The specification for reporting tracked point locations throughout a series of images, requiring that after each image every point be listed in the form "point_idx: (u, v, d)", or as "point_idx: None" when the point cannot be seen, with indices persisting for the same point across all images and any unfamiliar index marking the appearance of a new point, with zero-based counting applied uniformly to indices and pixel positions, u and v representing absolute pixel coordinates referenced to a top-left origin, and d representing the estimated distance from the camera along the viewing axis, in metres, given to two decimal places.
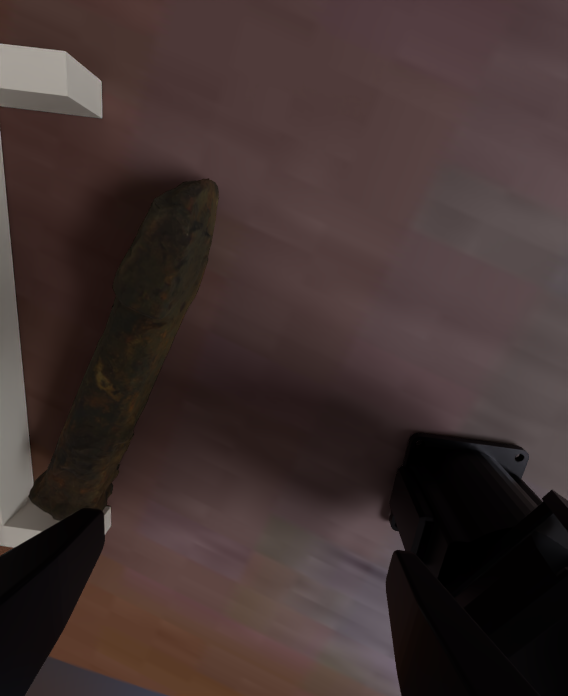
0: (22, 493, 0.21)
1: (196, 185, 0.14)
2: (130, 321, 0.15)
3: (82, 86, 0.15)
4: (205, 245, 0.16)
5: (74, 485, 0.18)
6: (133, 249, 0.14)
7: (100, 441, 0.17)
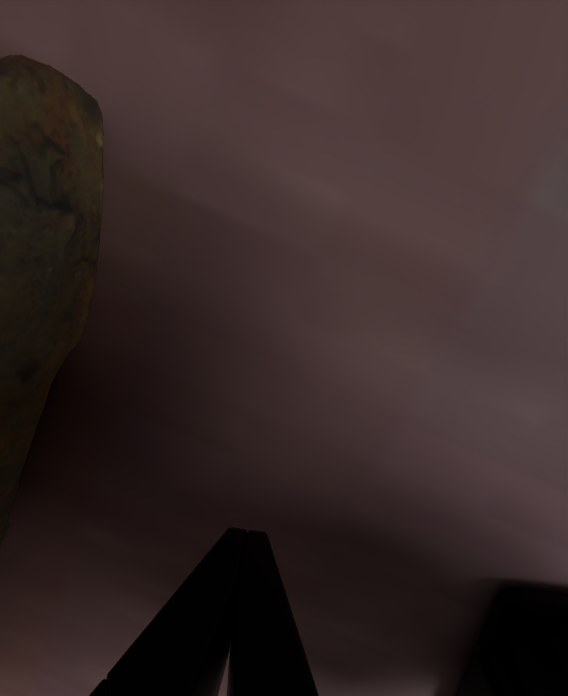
0: None
1: None
2: None
3: None
4: (59, 233, 0.07)
5: None
6: None
7: None
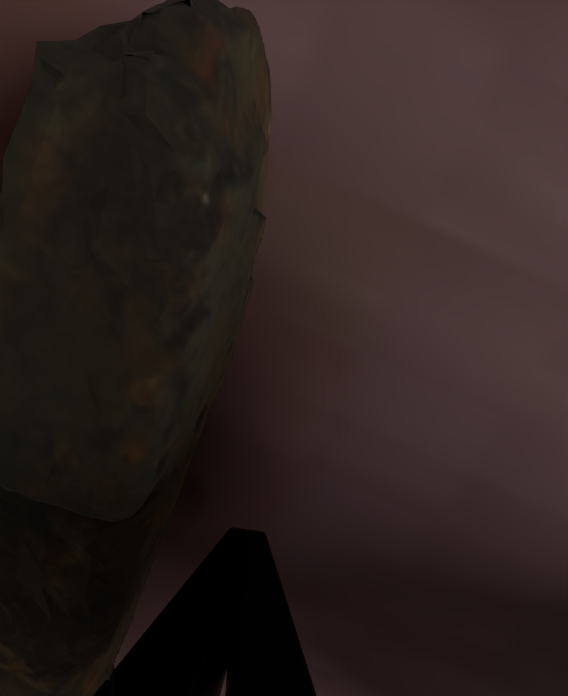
0: None
1: (222, 6, 0.04)
2: (44, 506, 0.05)
3: None
4: (254, 246, 0.05)
5: None
6: None
7: None
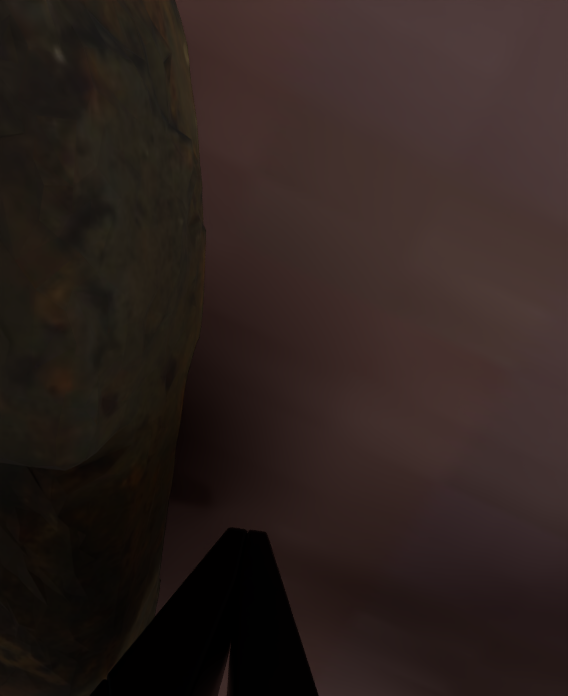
0: None
1: None
2: (7, 478, 0.05)
3: None
4: (182, 169, 0.05)
5: None
6: None
7: None
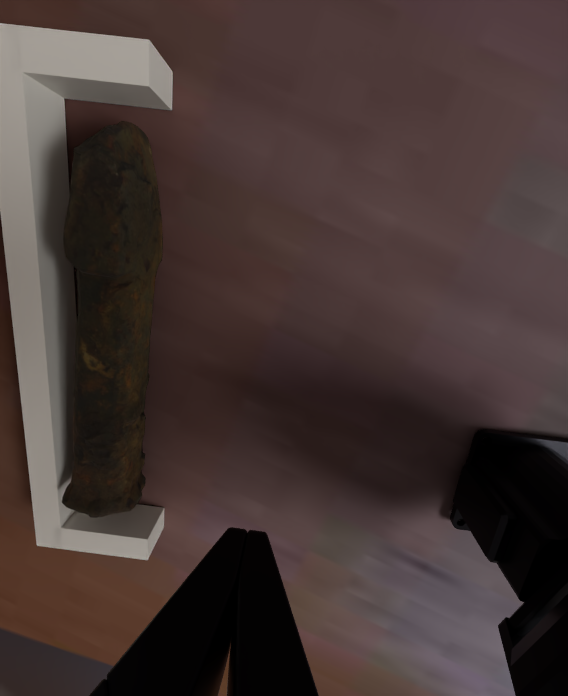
0: None
1: (114, 126, 0.14)
2: (96, 289, 0.15)
3: (159, 76, 0.14)
4: (148, 193, 0.15)
5: (100, 478, 0.18)
6: (70, 208, 0.13)
7: (109, 425, 0.17)
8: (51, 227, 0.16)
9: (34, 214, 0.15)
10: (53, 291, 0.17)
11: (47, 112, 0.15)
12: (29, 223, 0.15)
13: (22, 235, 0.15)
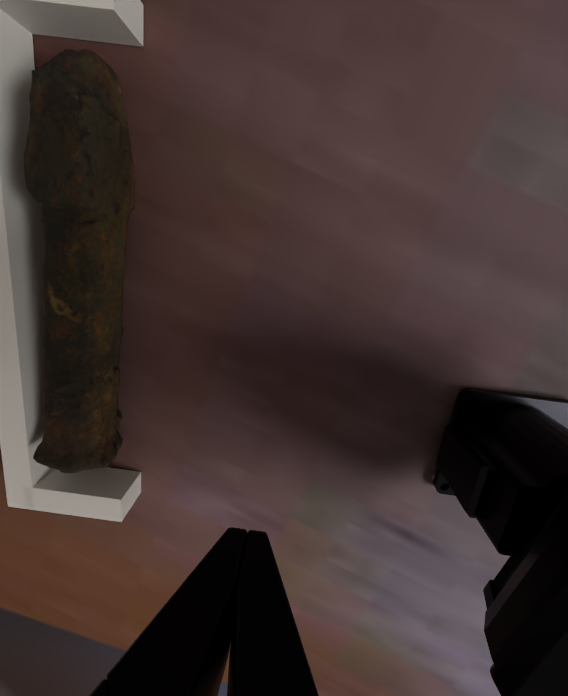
0: None
1: (75, 51, 0.13)
2: (61, 227, 0.14)
3: (126, 4, 0.14)
4: (115, 128, 0.15)
5: (71, 432, 0.17)
6: (30, 134, 0.13)
7: (78, 373, 0.16)
8: (18, 167, 0.16)
9: None
10: (21, 236, 0.16)
11: (12, 44, 0.15)
12: None
13: None
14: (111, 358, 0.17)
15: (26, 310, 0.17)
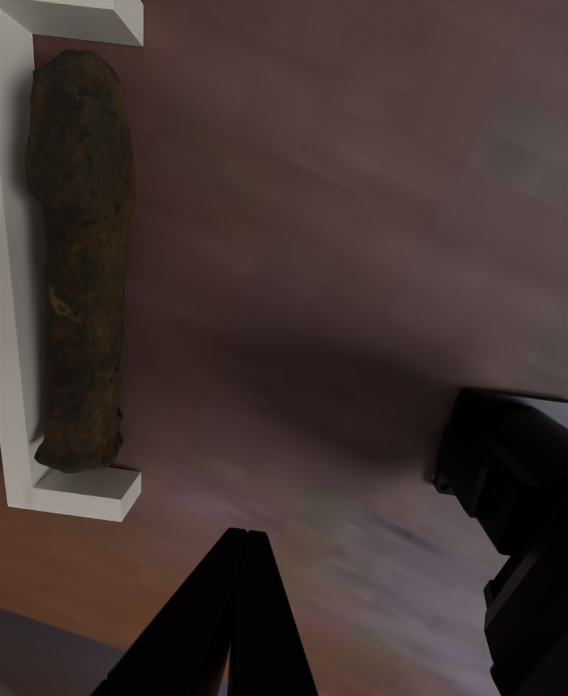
0: None
1: (76, 51, 0.13)
2: (62, 227, 0.14)
3: (126, 4, 0.14)
4: (116, 128, 0.15)
5: (72, 432, 0.17)
6: (30, 135, 0.13)
7: (79, 374, 0.16)
8: (18, 167, 0.16)
9: None
10: (21, 236, 0.16)
11: (12, 44, 0.15)
12: None
13: None
14: (112, 358, 0.17)
15: (26, 310, 0.17)
